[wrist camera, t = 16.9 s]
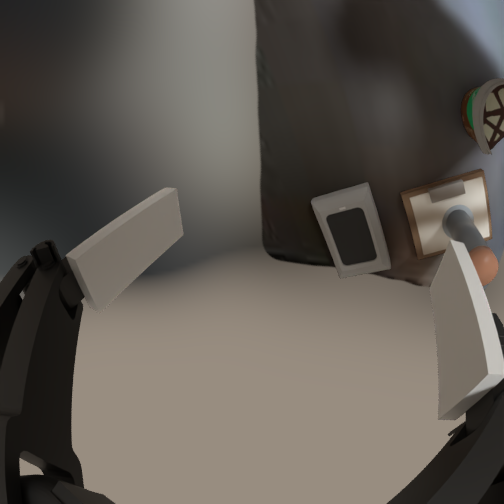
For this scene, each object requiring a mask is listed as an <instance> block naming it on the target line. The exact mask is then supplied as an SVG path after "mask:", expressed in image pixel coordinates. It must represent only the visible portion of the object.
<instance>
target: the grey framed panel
mask: <svg viewBox="0 0 504 504" xmlns="http://www.w3.org/2000/svg"><path fill="white" fill-rule="evenodd" d="M311 204H312V207H313V210H314V213H315V215H316V217H317V220H318V222H319V225H320V227H321V230H322V232H323V235H324V237H325V240H326V242H327V245H328V248H329V250H330V253H331V255H332V258H333V261H334V263H335V266H336V269H337V272H338V274H339V277H340V278H345V277H350V276H356V275H362V274H367V273H372V272H377V271H382V270H387V269H391V261H390V257H389V253H388V248H387V244H386V241H385V237H384V233H383V229H382V226H381V222H380V219H379V215H378V212H377V208H376V205H375V202H374V199H373V196H372V193H371V190H370V187H369V184H368V182H367V183H363V184H360V185H356V186H353V187H349V188H346V189H342V190H339V191H335V192H332V193H329V194H325V195H322V196H318V197H315V198H313V199H312V201H311Z"/></svg>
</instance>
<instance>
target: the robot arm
mask: <svg viewBox="0 0 504 504" xmlns="http://www.w3.org/2000/svg"><path fill="white" fill-rule="evenodd" d="M183 235H184V234H183V228H182V222H181V215H180V210H179V202H178V195H177V189H175V188H164V189H162V190H160V191H159V192H157V193H155V194H154V195H152V196H150V197H149V198H147V199H146V200H144V201H142V202H141V203H139V204H138V205H136V206H135V207H133V208H132V209H130V210H128V211H127V212H125V213H124V214H122V215H121V216H119V217H118V218H116V219H115V220H113V221H112V222H111V223H109V224H108V225H106V226H105V227H103V228H102V229H100V230H99V231H98V232H96V233H95V234H93V235H92V236H91V237H89V238H88V239H87V240H85V241H84V242H83V243H81V244H80V245H79V246H77V247H76V248H75V249H73V250H72V251H71V252H69V253H68V254H67V255H66V257H65V258H64V259H62V260H61V258H60V255H59V253H58V250H57V248H56V245H55V243H54V241H53V240H46V241H43V242H41V243H39V244H37V245H36V246H35V247H34V248H32V250H31V251H30V253H31V255H32V256H29V255H28V256H23V257H21V258H20V259H19V260H18V261H17V262H16V263H15V264H14V265H13V267H12V268H11V269H10V270H9V272H8V273H7V274H6V276H5V277H4V278H3V280H2V281H1V282H0V504H115V503H114V502H112V501H111V500H110V499H108V498H107V497H106V496H104V495H103V494H99V493H95V492H92V491H89V490H87V489H84V484H83V478H82V477H83V476H82V469H81V464H80V461H79V459H78V457H77V456H76V454H75V453H74V451H73V448H72V441H71V408H72V387H73V374H74V363H75V355H76V347H77V340H78V334H79V327H80V322H81V316H82V311H83V304H82V302H81V300H82V299H83V298H84V297H85V299H86V301H87V303H88V305H89V307H90V308H92V309H93V310H95V311H97V312H99V313H101V312H102V311H103V310H104V309H105V308H106V307H107V306H108V305H109V304H110V303H111V302H112V301H113V300H114V299H115V298H116V297H117V296H118V295H119V294H120V293H121V292H122V291H123V290H124V289H125V288H126V287H127V286H128V285H129V284H130V283H131V282H132V281H134V280H135V279H136V278H137V277H138V276H139V275H140V274H141V273H142V272H143V271H144V270H145V269H146V268H147V267H148V266H149V265H151V264H152V263H153V262H154V261H155V260H156V259H157V258H158V257H159V256H160V255H161V254H163V253H164V252H165V251H166V250H167V249H168V248H169V247H170V246H171V245H173V244H174V243H175V242H176V241H177V240H178V239H179V238H180V237H182V236H183ZM22 290H23V292H24V294H25V296H24V299H23V300H22V298H21V296H20V295H19V294H20V293H21V291H22ZM429 290H430V296H431V302H432V309H433V316H434V323H435V332H436V343H437V356H438V376H439V377H438V378H439V405H438V420H456V419H458V418H459V417H460V416H461V415H463V414H464V413H465V412H466V421H465V422H464V423H462V424H461V425H459V426H458V427H457V428H455V429H454V430H452V431H451V432H450V433H449V434H448V435H449V436H450V435H452V434H454V435H453V436H452V437H451V438H450V440H449V441H448V442H447V443H446V445H445V446H444V447H443V448H442V449H441V451H440V452H439V453H438V454H437V455H436V456H435V458H434V459H433V460H432V461H431V462H430V463H429V464H428V465H427V466H426V467H425V468H424V470H422V471H421V473H419V474H418V476H417V477H416V478H414V480H412V481H411V482H410V483H409V484H408V485H407V486H406V487H405V488H404V489H403V490H402V491H401V492H400V493H398V494H397V495H396V496H395V497H394V498H393V499H392V500H390V501H389V502H388V503H387V504H504V327H503V324H502V323H501V321H500V319H499V318H498V316H497V315H496V314H495V313H491V310H490V306H489V303H488V301H487V298H486V295H485V292H484V289H483V287H482V284H481V282H480V279H479V277H478V274H477V272H476V269H475V267H474V265H473V262H472V260H471V258H470V256H469V253H468V251H467V249H466V247H465V245H464V243H461V242H458V241H454V240H449V243H448V246H447V248H446V251H445V254H444V256H443V259H442V261H441V263H440V266H439V268H438V271H437V273H436V275H435V277H434V280H433V282H432V284H431V286H430V288H429ZM19 458H21V459H23V460H25V461H27V462H29V463H31V464H33V465H35V466H37V467H39V468H40V469H41V470H42V472H43V474H44V475H24V476H20V469H19Z"/></svg>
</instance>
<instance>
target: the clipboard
mask: <svg viewBox="0 0 504 504" xmlns="http://www.w3.org/2000/svg"><path fill="white" fill-rule="evenodd" d="M400 193H401V197H402V200H403V203H404V206H405V210H406V213H407V217H408V221H409V224H410V228H411V232H412V236H413V240H414V244H415V249H416V253H417V258H418V260H420V259H424V258H427V257H431V256H435V255H439V254H442V253H445V251H446V248H447V246H448V243H449V240H453V239H452V237H451V235H450V233H449V231H448V229H447V225H446V221H447V218H448V216H449V214H450V213H451V212H453V211H454V210H458V209H460V210H464V211H465V212H466V213H467V214H468V215H469V217H470V218H471V220H472V221H473V223H474V224H475V226H476V227H477V229H478V230H479V232H480V233H481V235H482V237H483V238H484V240H485V241H487V240H490V239H492V227H491V216H490V207H489V200H488V193H487V186H486V181H485V175H484V171H483V170H482V169H478V170H474V171H471V172H467V173H464V174H461V175H457V176H454V177H450V178H447V179H443V180H440V181H437V182H433V183H430V184H427V185H423V186H420V187H417V188H413V189H410V190H407V191H403V192H400Z"/></svg>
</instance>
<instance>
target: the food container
mask: <svg viewBox="0 0 504 504" xmlns="http://www.w3.org/2000/svg"><path fill="white" fill-rule="evenodd" d="M461 117H462V122H463V125H464V127H465V130H466V132H467V133H468V135H469V136H470V137H471V138H472V139H474V140H475V141H476V142H477V143H478V144H479V147H480V149H481V150H482V152H483V153H485V154H489V153H490V154H492V153H491V151H490V150H491V149H492V148H493V147H494V146H495V145H496V144H497V143H498V142H499V141H500V140H501V139H502V138H503V137H504V79H501V78H496V79H492V80H490V81H487V82H486V83H485V84H484V85H483V86H481V87H476V88H473V89H471V90H469V91H468V92H467V93H466V94H465V96H464V98H463V100H462V104H461Z"/></svg>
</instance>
